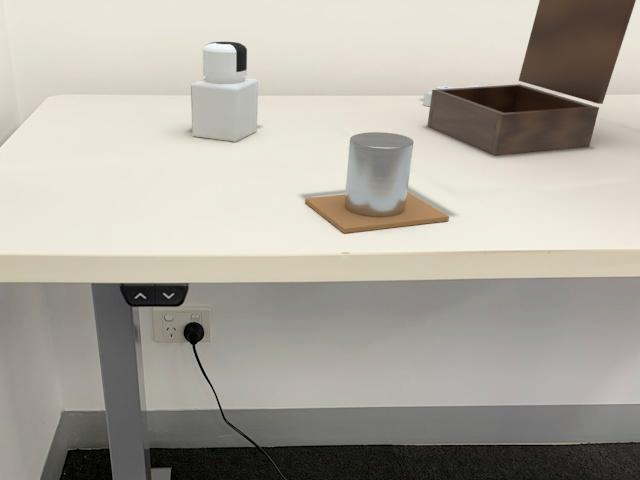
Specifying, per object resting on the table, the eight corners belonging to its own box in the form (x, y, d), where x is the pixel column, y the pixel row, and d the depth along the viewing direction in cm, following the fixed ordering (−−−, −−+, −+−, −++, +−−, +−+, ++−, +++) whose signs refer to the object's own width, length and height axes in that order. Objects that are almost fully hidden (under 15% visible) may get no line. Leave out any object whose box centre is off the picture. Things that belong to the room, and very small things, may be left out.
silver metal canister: (387, 195, 84) (394, 130, 80) (416, 213, 78) (425, 145, 75) (334, 200, 82) (339, 134, 78) (360, 219, 77) (367, 150, 73)
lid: (642, -35, 89) (671, -32, 91) (550, -42, 103) (577, -39, 104) (597, 103, 97) (625, 104, 99) (518, 80, 111) (543, 82, 112)
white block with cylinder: (214, 126, 112) (213, 38, 106) (257, 131, 110) (259, 41, 103) (191, 136, 107) (189, 44, 101) (236, 142, 104) (236, 48, 98)
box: (493, 162, 97) (502, 114, 94) (426, 132, 110) (432, 89, 107) (587, 153, 101) (599, 107, 98) (511, 125, 114) (519, 84, 111)
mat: (401, 192, 86) (402, 188, 86) (448, 221, 78) (449, 216, 78) (304, 202, 83) (305, 198, 82) (343, 233, 75) (344, 228, 75)
